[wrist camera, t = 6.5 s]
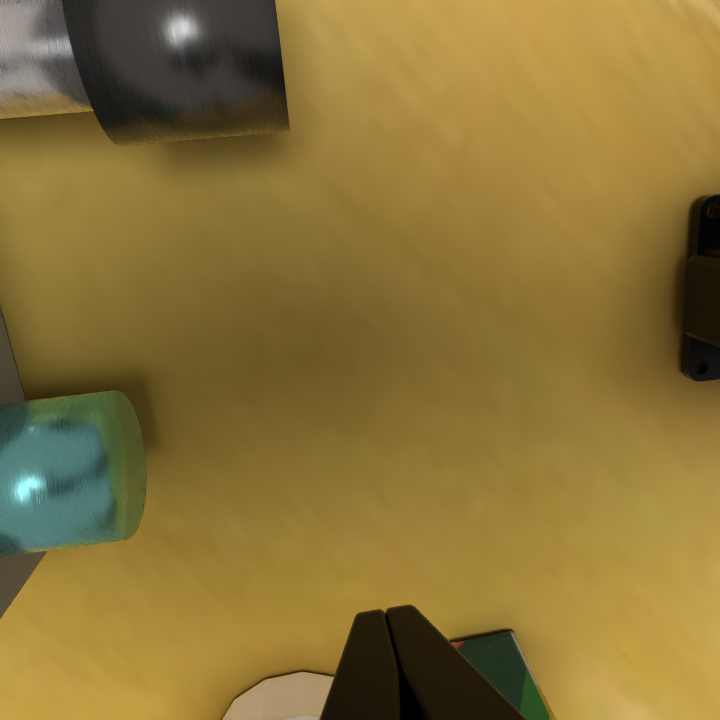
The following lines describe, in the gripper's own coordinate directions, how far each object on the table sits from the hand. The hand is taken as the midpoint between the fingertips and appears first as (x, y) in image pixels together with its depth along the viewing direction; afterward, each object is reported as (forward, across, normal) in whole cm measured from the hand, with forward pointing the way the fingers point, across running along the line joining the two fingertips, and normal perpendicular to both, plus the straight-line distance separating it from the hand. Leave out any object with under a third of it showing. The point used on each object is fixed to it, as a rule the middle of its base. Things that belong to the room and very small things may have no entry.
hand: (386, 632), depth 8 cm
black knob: (+10, +6, -10) cm, 15 cm away
